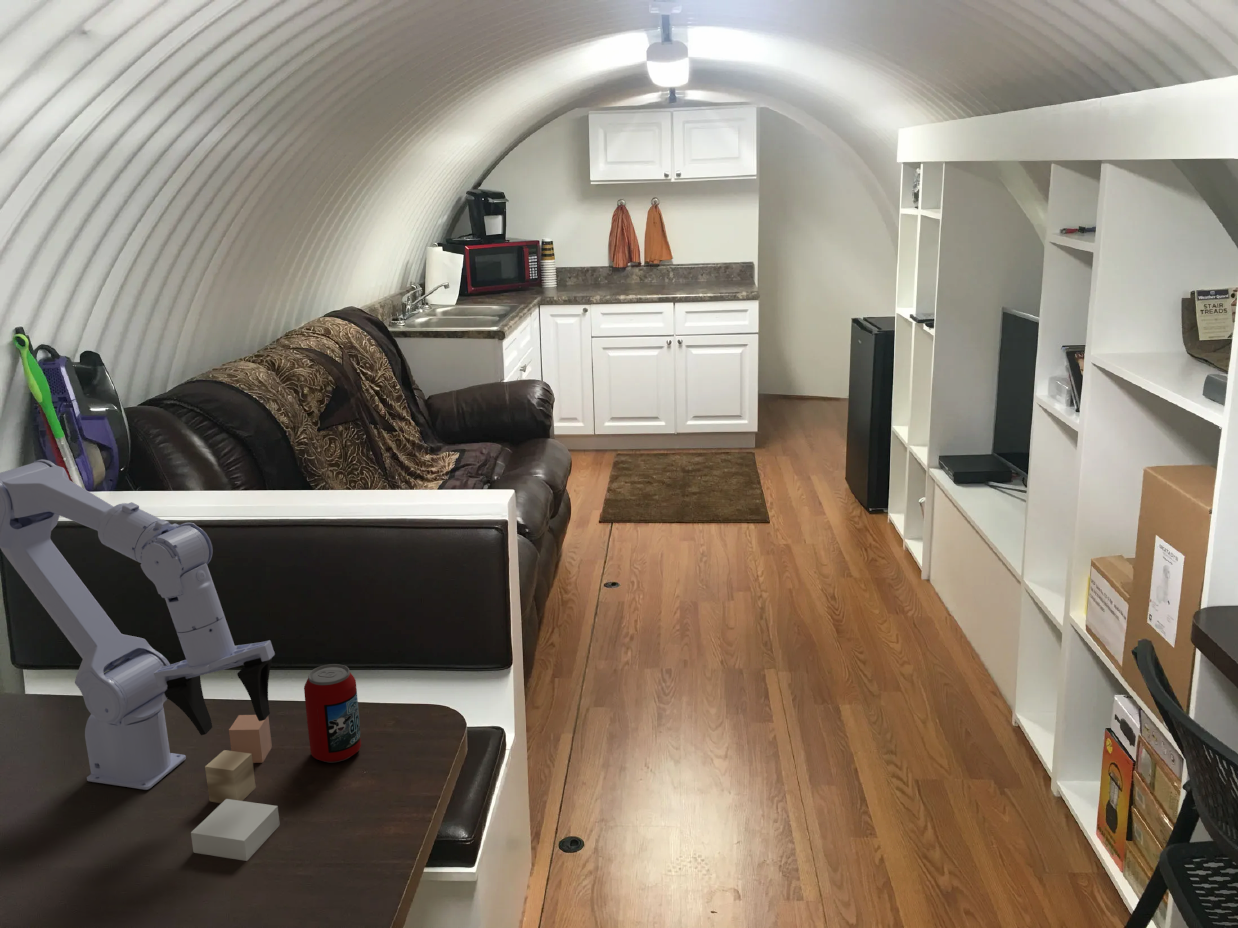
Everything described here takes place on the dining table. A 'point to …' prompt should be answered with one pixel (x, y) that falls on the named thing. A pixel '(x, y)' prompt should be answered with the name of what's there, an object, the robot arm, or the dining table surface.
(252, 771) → the maple block
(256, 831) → the grey slab
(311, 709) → the beverage can
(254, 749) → the terracotta block
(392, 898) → the dining table surface
